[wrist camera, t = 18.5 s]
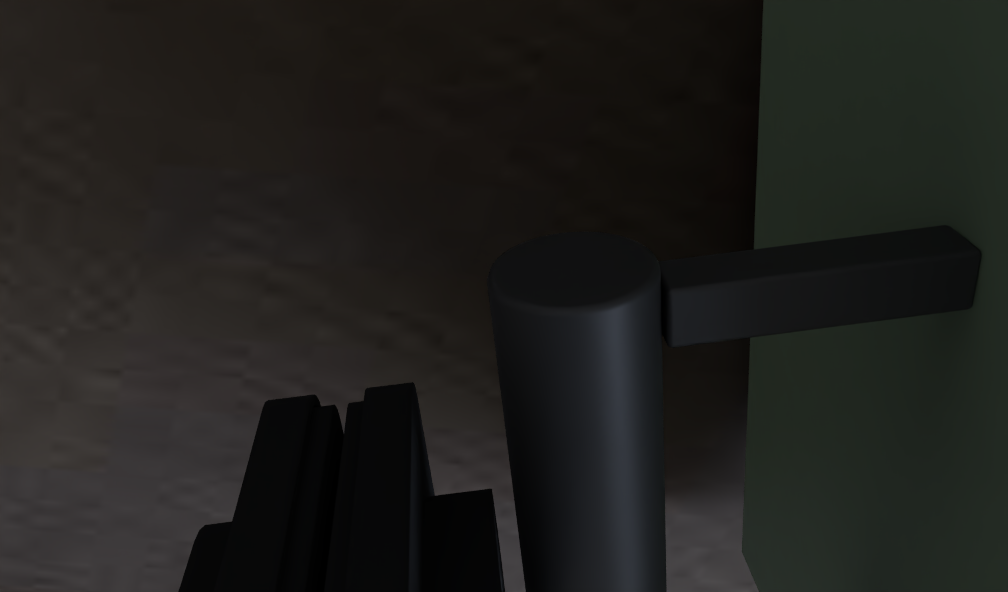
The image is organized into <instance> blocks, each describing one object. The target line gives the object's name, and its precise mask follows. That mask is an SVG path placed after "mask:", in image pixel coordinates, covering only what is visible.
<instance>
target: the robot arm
mask: <svg viewBox="0 0 1008 592" xmlns="http://www.w3.org/2000/svg"><path fill="white" fill-rule="evenodd" d="M179 592H505V587H504V579H503V570H502V562H501V554H500V546H499V538H498V530H497V523H496V515H495V508H494V500H493V494H492V489H485V490H477V491H469V492H461V493H454V494H446V495H438V496H435V495H434V489H433V483H432V478H431V472H430V466H429V460H428V455H427V449H426V443H425V437H424V432H423V426H422V420H421V414H420V409H419V403H418V397H417V392H416V388H415V384H414V383H413V382H412V383H404V384H396V385H388V386H380V387H372V388H367V389H366V390H365V395H364V401H361V402H353V403H349V404H348V408H347V415H346V423H345V431H344V433H343V429H342V425H341V420H340V416H339V412H338V409H337V407H336V406H335V405H329V406H321V405H320V401H319V399H318V397H317V396H316V395H307V396H299V397H291V398H283V399H275V400H268V401H266V402H265V404H264V406H263V409H262V413H261V417H260V420H259V424H258V428H257V432H256V435H255V439H254V443H253V446H252V450H251V454H250V458H249V461H248V465H247V469H246V472H245V476H244V480H243V484H242V487H241V491H240V495H239V498H238V502H237V506H236V510H235V513H234V517H233V521H232V522H226V523H218V524H210V525H205V526H204V527H202V528H201V529H200V530H199V532H198V534H197V537H196V539H195V541H194V544H193V547H192V551H191V554H190V557H189V560H188V563H187V567H186V570H185V573H184V576H183V579H182V583H181V586H180V589H179Z"/></svg>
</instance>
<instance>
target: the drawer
mask: <svg viewBox="0 0 1008 592" xmlns="http://www.w3.org/2000/svg"><path fill="white" fill-rule="evenodd" d="M487 286H488V294H489V302H490V310H491V318H492V326H493V334H494V342H495V350H496V358H497V366H498V374H499V382H500V390H501V397H502V405H503V413H504V421H505V429H506V437H507V445H508V453H509V461H510V469H511V477H512V485H513V493H514V501H515V509H516V516H517V524H518V532H519V540H520V548H521V556H522V564H523V572H524V580H525V588H526V592H666V539H665V484H664V428H663V372H662V335H663V337H664V339H665V341H666V343H667V345H668V346H669V347H672V348H675V347H683V346H691V345H698V344H706V343H714V342H721V341H729V340H737V339H745V338H750V359H749V384H748V410H747V436H746V461H745V487H744V512H743V538H742V553H743V555H744V558H745V560H746V562H747V564H748V567H749V569H750V571H751V574H752V576H753V578H754V581H755V583H756V585H757V588H758V590H759V592H1008V0H763V25H762V51H761V77H760V102H759V128H758V154H757V179H756V205H755V230H754V249H753V250H745V251H737V252H729V253H721V254H714V255H706V256H698V257H690V258H682V259H675V260H667V261H659V262H658V261H657V259H656V257H655V256H654V254H653V253H652V252H651V251H650V250H649V249H648V248H647V247H645V246H644V245H642V244H641V243H639V242H637V241H634V240H632V239H629V238H626V237H623V236H619V235H614V234H609V233H601V232H567V233H558V234H552V235H547V236H543V237H539V238H535V239H532V240H529V241H526V242H523V243H521V244H519V245H517V246H515V247H513V248H511V249H509V250H508V251H506V252H505V253H503V254H502V255H501V256H500V257H499V258H497V260H496V261H495V262H494V263H493V265H492V267H491V269H490V271H489V275H488V278H487Z"/></svg>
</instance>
